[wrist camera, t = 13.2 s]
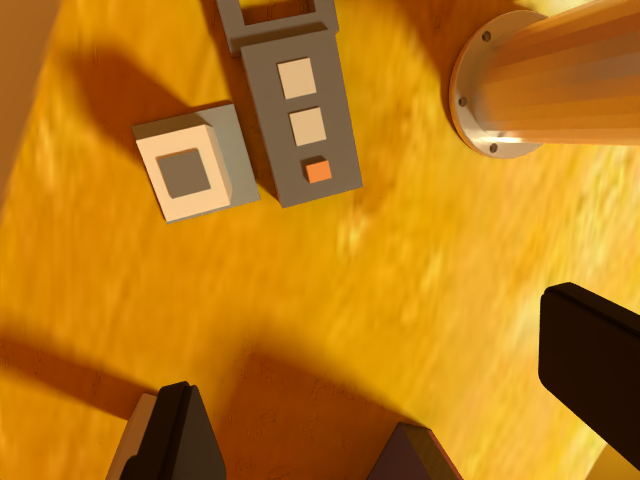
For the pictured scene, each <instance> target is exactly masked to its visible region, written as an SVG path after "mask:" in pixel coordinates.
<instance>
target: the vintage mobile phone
mask: <svg viewBox="0 0 640 480" xmlns="http://www.w3.org/2000/svg"><path fill="white" fill-rule="evenodd" d="M156 399H157V396H154V395H150V394H147V393H143V394H142V395H141V397H140V399H139V401H138V403H137V405H136V407H135V409H134V411H133V413H132V415H131V417H130V419H129V421H128V423H127V425H126V427H125V430H124V432H123V435H122V438H121V440H120V443H119V445H118V448H117V450H116V453H115V456H114V458H113V461H112V463H111V466H110V469H109V471H108V474H107V476H106V479H105V480H119V478H120V476H121V473H122V470H123V468H124V466H125V464H126V462H127V460H128V459H129V458H130V457H131V456H133V455H137V452H138V450H139V447H140V444H141V441H142V438H143V436H144V433H145V430H146V427H147V424H148V422H149V419H150V416H151V413H152V410H153V407H154V405H155V402H156Z"/></svg>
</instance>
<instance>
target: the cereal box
mask: <svg viewBox="0 0 640 480" xmlns="http://www.w3.org/2000/svg"><path fill="white" fill-rule="evenodd" d="M366 480H464V479H463V478H462V476H461V475H460V473H459V472H458V470H457V469H456V467H455V466H454V464H453V463H452V461H451V460H450V458H449V457H448V455H447V453H446V452H445V450H444V449H443V447H442V446H441V444H440V443H439V441H438V440H437V438H436V437H435V435H434V434H433V432H432V430H430V429H426V428H422V427H418V426H414V425H410V424H406V423H402V422H399V423H398V425H397V426H396V428H395V430H394V432H393V433H392V435H391V437H390V439H389V440H388V442H387V444H386V446H385V448H384V449H383V451H382V453H381V455H380V456H379V458H378V460H377V462H376V463H375V465H374V467H373V469H372V470H371V472H370V474H369V476H368V477H367V479H366Z"/></svg>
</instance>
